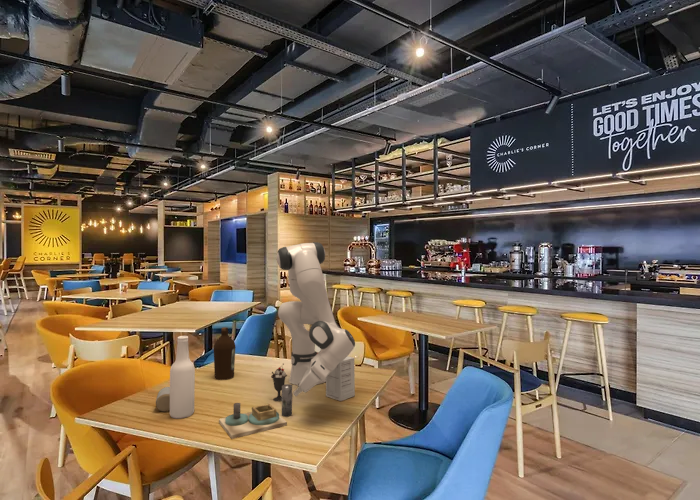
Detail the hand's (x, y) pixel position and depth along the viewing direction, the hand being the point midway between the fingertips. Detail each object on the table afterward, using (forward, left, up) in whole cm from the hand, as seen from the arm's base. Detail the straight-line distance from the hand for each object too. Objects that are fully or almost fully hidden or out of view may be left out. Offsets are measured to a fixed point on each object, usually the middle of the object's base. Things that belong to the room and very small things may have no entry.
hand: (296, 390), depth 152 cm
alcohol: (+37, -24, -10) cm, 45 cm away
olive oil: (+10, -63, -10) cm, 65 cm away
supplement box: (-25, -8, -10) cm, 28 cm away
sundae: (-1, -19, -10) cm, 22 cm away
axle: (+3, -2, -9) cm, 10 cm away
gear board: (+17, -1, -9) cm, 19 cm away
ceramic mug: (+40, -34, -10) cm, 53 cm away
